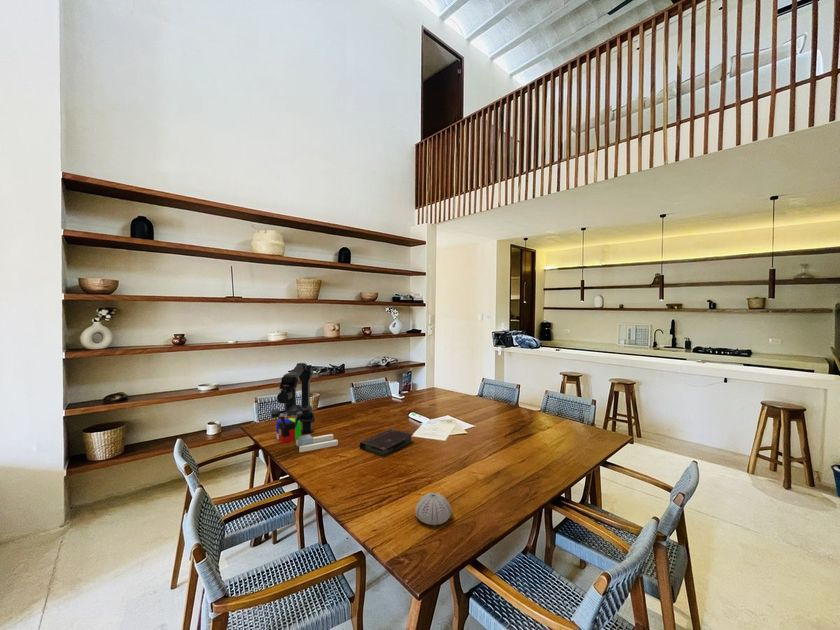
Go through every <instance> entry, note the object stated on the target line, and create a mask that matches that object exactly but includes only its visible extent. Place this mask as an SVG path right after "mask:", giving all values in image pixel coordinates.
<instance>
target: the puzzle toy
mask: <svg viewBox="0 0 840 630" xmlns="http://www.w3.org/2000/svg"><path fill="white" fill-rule="evenodd" d="M284 420H285V429H284V426H283V423H282V421H281V419H279V420H277V421H276V430H275V431H276V439H277V440H278V441H280V442H281V443H283V444H287V443H289V442H293V441H296V440H298V437H300V436H302V432H301V430H302V422H301V421H299V420H298V423H297V426H296V427H295V417H289V418H284Z"/></svg>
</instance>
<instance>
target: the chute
mask: <svg viewBox="0 0 840 630" xmlns="http://www.w3.org/2000/svg"><path fill="white" fill-rule="evenodd" d="M312 437H313V444H310V445H304V446H299V447H298V439H297V440H295V441H296V442H295V445H296V447H298V449H299V450H298V452H299V453H305V452H310V451H314V450H315V451H316V450H320V449H326V448H330V447H331V448H332V447H335V446H336V447H337V446H338V445H339V441H338V439H334V434H333V433H330V434H325V435H318V436H312Z"/></svg>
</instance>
